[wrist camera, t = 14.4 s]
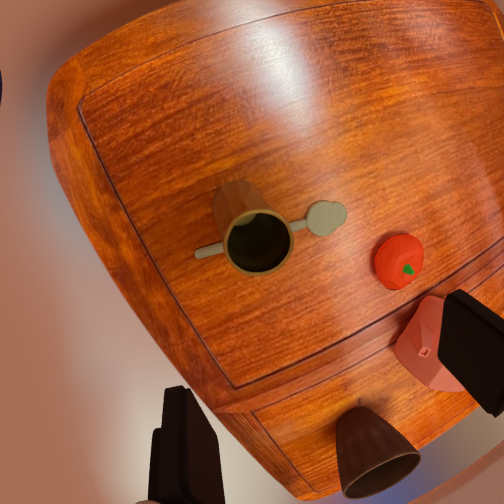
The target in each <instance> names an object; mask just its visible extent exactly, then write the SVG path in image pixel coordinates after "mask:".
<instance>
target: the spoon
mask: <svg viewBox="0 0 504 504" xmlns="http://www.w3.org/2000/svg"><path fill="white" fill-rule="evenodd" d="M346 218H347V210H346V208H345V207H344V205H342V204H341V203H339V202H329V201H325V200H320V201H317V202H315V203H313V204H312V205H311V206H310V207H309V208H308V210H307V212H306V215H305V218H304V219H300V220H297V221H293V222H291V223H289V225H290V227H291V229H292V232H296V231H299V230H300V229H302V228H306V227H307V228H308V229H309V230H310V231H311V232H312V233H313V234H315V235H317V236H328V235H330V234H332V233H333V232H334V231H335V230H336V229H337V228H338V227H339V226H341V225H342V224H343V223H344V222H345V220H346ZM222 252H224V250H223V245H222V242H220V243H216V244H213V245H209V246H206V247H203V248H199V249H197V250H196V251H195V253H194V254H195V257H196V258H198V259H201V258H205V257H208V256H212V255H215V254H219V253H222Z"/></svg>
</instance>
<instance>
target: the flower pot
mask: <svg viewBox="0 0 504 504" xmlns="http://www.w3.org/2000/svg"><path fill="white" fill-rule="evenodd" d="M336 452H337V463H338V471H339V477H340V482H341V487H342V491H343V496H344V497H345V498H347V499H361V498H366V497H369V496H372V495H375V494H377V493H380V492H382V491H384V490H386V489H388V488H390V487H392V486H394V485H395V484H397V483H398V482H400V481H401V480H403V479H404V478H405V477H407V476H408V475H409V474H410V473H411V472H412V471H413V470H414V469H415V468H416V467H417V466H418V464H419V463H420V461H421V455H420V453H419V452H418V451H417V450H416V449H415V448H414V447H413V446H412V445H411V443H410V442H409V441H408V440H407V439H406V438H405V437H404V436H403V435H402V434H401V433H400V432H399V431H397V430H396V429H395V428H394V427H393V426H392V425H390V424H389V423H388V422H387V421H385V420H384V419H383V418H381V417H380V416H379V415H377V414H376V413H374V412H373V411H371V410H370V409H368V408H366V407H359V408H355V409H352V410H350V411H348V412H347V413H345V414H344V415H343V416H342V417H341V418H340V419H339V420H338V422H337V426H336Z"/></svg>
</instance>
